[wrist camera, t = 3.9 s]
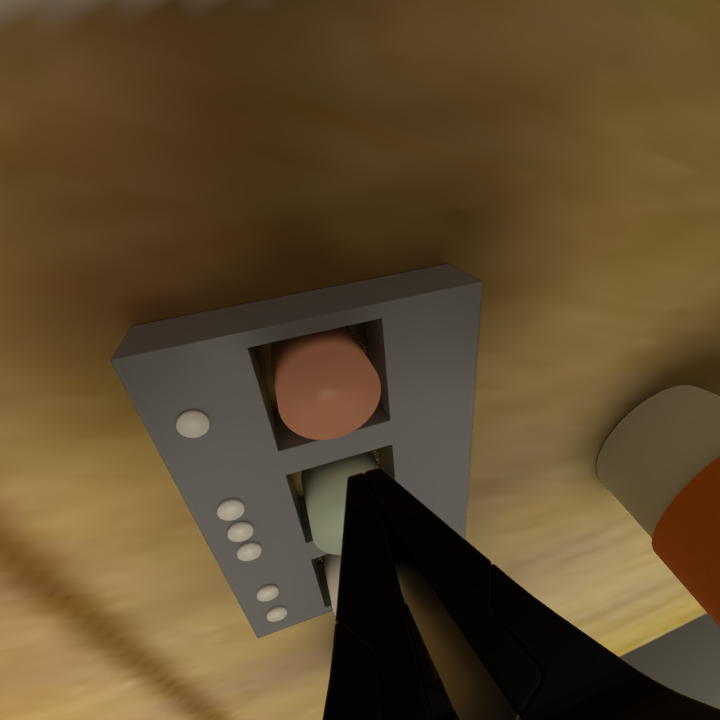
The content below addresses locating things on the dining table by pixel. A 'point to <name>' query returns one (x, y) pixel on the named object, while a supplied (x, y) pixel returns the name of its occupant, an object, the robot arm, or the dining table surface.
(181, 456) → the button panel
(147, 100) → the dining table surface
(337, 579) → the button cream
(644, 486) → the reusable coffee cup
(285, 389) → the button terracotta
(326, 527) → the button sage
